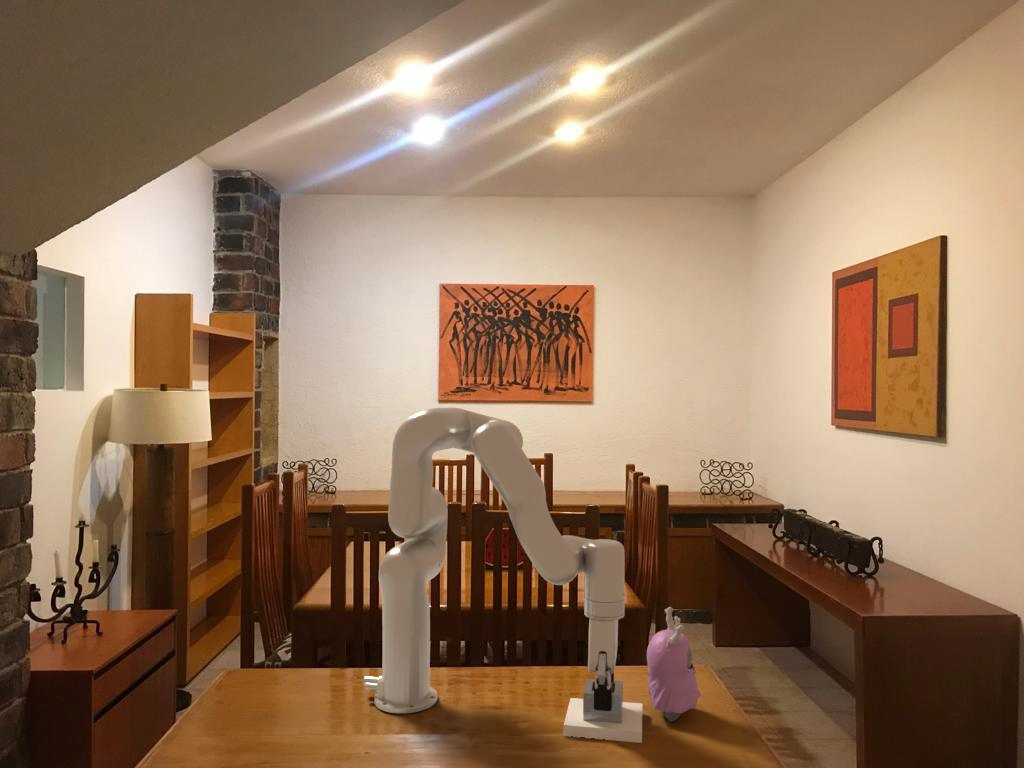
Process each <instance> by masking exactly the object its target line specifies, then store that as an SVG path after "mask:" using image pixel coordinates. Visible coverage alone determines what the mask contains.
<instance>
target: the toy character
mask: <svg viewBox="0 0 1024 768" xmlns="http://www.w3.org/2000/svg"><path fill="white" fill-rule="evenodd" d="M673 611H674V608H673V607H672V606H669V607H667V608H665V609H664V613H665V614H666V616H665V622H666V625H667V628H666V629H662V630H659V631H658V632H656V633H655V634H654V635H653V636H652V638H651V639H650V642H649V643H648V646H647V649H646V663H647V675H648V683H647V684H648V694H649V696H650V702H651V704H652V705H653V707H654V709H656V710H658V711H661V712H662V714H663V715H664V717H665V718H666V720H667V721H669V722H675V721H677V720H678V719H679V718H680V716H681V715H682V714H684V713H685V712H687V711H689V710H693V709H695V708H696V707H697V705H698V700H699V697H701V696H702V693H701V692H700V690H699V686H698V681H697V675H696V672H697V671H696V668H695V666H694V665H693V663H692V662H693V658H692V657H693V653H692V651H691V647H690V646H689V645H690V642H689V641H690V640H689V638H687V637H686V636H685V635H684V634H683V633H682V631H683V630H684V628H685V627H684V625H683V624H681V618H680V617H678V616H677V615H676V616H674V617H673V616H672V615H673V613H672V612H673Z"/></svg>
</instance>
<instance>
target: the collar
mask: <svg viewBox="0 0 1024 768" xmlns="http://www.w3.org/2000/svg"><path fill="white" fill-rule="evenodd" d="M594 687H595V678H586V679H585V683H584V689H583V693H582V696H583V697H582V699H583V720H585V721H596V722H608V723H620V724H622V713H623V702H624V681H623V680H614V681H613V680H611V688H612V709H611V711H601V710H595V709H594Z"/></svg>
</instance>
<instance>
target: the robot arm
mask: <svg viewBox="0 0 1024 768" xmlns="http://www.w3.org/2000/svg"><path fill="white" fill-rule="evenodd" d="M395 432H396V433H395V434H394V438H393V442H392V450H391V451H392V453H391V473H390V483H389V485H390V486H389V497H388V509H387V510H388V511H387V515H388V516H387V520H388V525H389V528H390V529H391V532H393V534H394V535H396V536H397V537H399V538H403V539H404V542H402V543H400V544H398V545H396V546H394V547H392V548H390V549H389V551H387V552H386V553H385V555H384V556H383V557H382V560H381V561H380V564H379V569H378V583H379V589H380V596H381V608H382V609H381V610H382V612H381V614H382V619H381V620H382V624H381V625H382V655H381V656H382V660H381V661H382V663H381V665H382V667H381V668H382V671H381V672H382V675H379V676H378V677H377V676H373V675H365V676H364V678H363V686H364V690H366V691H375V692H376V693H375V694H374V701H373V702H374V706H375V707H376V708H378V709H379V710H381V711H384V712H386V713H391V714H412V713H418V712H422V711H425V710H427V709H430V708H431V707H433V706H434V705H435V704H436V702H438V692H437V689H435V688H434V687H432V686H431V685H430V683H431V681H430V680H431V679H430V678H431V677H430V675H431V667H430V665H431V664H430V663H431V648H430V647H431V616H430V615H431V614H430V613H431V609H430V600H429V596H428V589H427V584H428V582H430V581H431V580H432V579H434V578H435V577H436V576H438V574H439V573H441V571H442V569H443V567H444V564H445V560H446V551H447V535H448V517H449V515H448V513H449V512H448V510H449V509H448V504H447V501H446V498H445V497H444V495H443V494H442V492H441V491H440V490H439V489H437V488H435V487H434V486H433V481H434V463H433V454H434V453H435V452H437V451H443V450H444V451H445V450H450V449H457V450H460V451H465V452H469V453H471V454H472V453H473V454H474V457H475V458H476V460H477V461H478V463H479V464H480V466H481V468H482V469H483V472H485V474H486V476H487V477H488V478H489V481H490V482H491V483H492V485H493V487H494V488H495V490H496V491H497V493H498V495H499V496H500V498H501V499H502V501H503V503H504V505H505V506H506V509H507V512H508V515H509V518H510V521H511V524H512V526H513V529H514V531H515V534H516V536H517V539H518V541H519V543H520V545H521V547H522V549H523V550H524V552H525V554H526V555H527V558H529V560H530V562H531V563H532V565H533V566H534V567H535V568H534V569H536V571H537V573H538V574H539V575H540V576H541V577H542V578H543V580H544V581H547V582H548V583H549V584H552V585H556V586H563V585H566V584H570V582H572V581H573V580H574V579H575V578H576V577H577V575H579V574H583V576H584V597H583V598H584V601H583V602H584V604H583V605H584V607H583V609H584V610H583V611H584V616H585V617H586V618H589V623H588V649H587V650H588V651H587V653H588V657H587V659H588V660H587V672H588V673H589V674H592V672H593V673H595V674H594V675H595V676H594V679H595V687H594V709H595V710H601V711H611V709H612V688H610V677H611V680H613V681H615V669H616V663H617V656H618V655H617V654H618V641H619V640H618V636H619V634H618V633H619V620H621V619H623V618H624V617H625V600H626V599H625V572H626V571H625V567H626V566H625V565H626V564H625V560H626V559H625V547H624V545H623V544H622V543H621V542H620V541H618V540H614V539H608V538H607V539H605V538H604V539H603V538H601V539H592V538H591V539H589V538H586V537H581V536H576V535H570V534H565V535H562V534H561V533H560V531H559V529H558V528H557V526H556V525H555V522H554V520H553V519H552V516H551V514H550V512H549V508H548V503H547V494H546V487H545V483H544V482H543V479H542V478H541V476H540V475H539V474H538V472H537V471H536V469H535V468H534V466H533V464H532V463H531V461H530V459H529V458H528V457H527V455H526V453H525V452H524V450H523V445H524V440H523V439H524V438H523V437H524V436H523V434H522V432H521V431H520V429H519V428H518V426H516V425H515V423H512V422H511V421H508V420H505V419H501V418H497V417H493V416H488V415H485V414H482V413H478V412H476V411H470V410H467V409H463V408H459V407H434V408H433V407H432V408H428V409H424V410H421V411H419V412H417V413H414V414H413V415H410V416H409V417H407V418H406V419H405V420H404V421H403V422H402V423H401V424H400V425H399V427H398V428H397V430H396V431H395ZM605 675H606V676H607V678H605Z"/></svg>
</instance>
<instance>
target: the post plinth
mask: <svg viewBox="0 0 1024 768" xmlns="http://www.w3.org/2000/svg"><path fill="white" fill-rule="evenodd" d="M605 678H607V676H606V675H605ZM610 688H611V677H610ZM571 736H573V737H571ZM563 737H568V738H569V737H570V738H580V737H585V738H584V739H591V738H595V739H594V740H603V739H605V740H604V741H618V742H627V743H638V744H639V743H640V744H642V743H643V702H642V703H639V702H629V701H628V702H626V701H623V713H622V724H620V723H608V722H596V721H585V720H583V698H579V697H570V699H569V703H568V707H567V711H566V713H565V719H564V723H563Z"/></svg>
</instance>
